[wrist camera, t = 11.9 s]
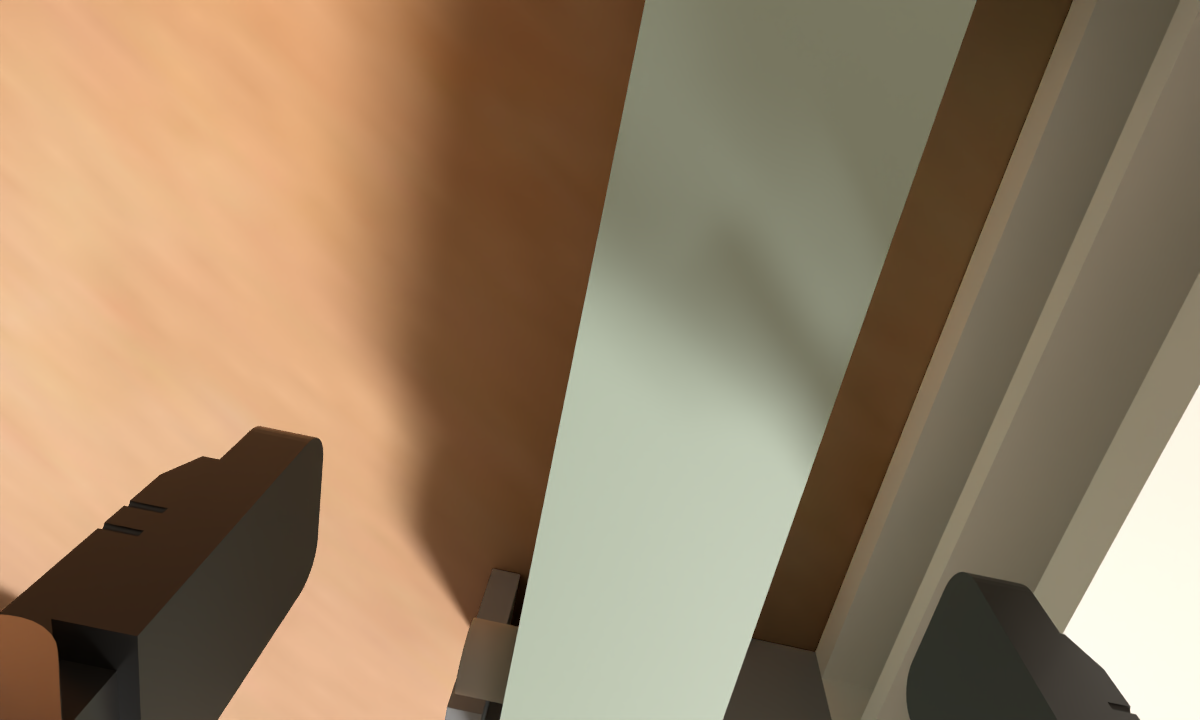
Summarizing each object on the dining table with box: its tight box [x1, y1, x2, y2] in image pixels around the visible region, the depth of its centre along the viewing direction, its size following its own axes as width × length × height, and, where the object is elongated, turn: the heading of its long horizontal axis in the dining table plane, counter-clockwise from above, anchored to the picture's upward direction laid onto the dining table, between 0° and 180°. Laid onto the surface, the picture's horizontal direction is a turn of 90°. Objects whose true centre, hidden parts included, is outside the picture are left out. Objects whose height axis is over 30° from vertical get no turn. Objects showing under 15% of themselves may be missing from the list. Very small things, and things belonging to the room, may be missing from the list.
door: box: [455, 0, 977, 720], centre depth 15 cm, size 4×20×10 cm, turn 169°
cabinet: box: [445, 0, 1200, 720], centre depth 15 cm, size 16×23×8 cm
